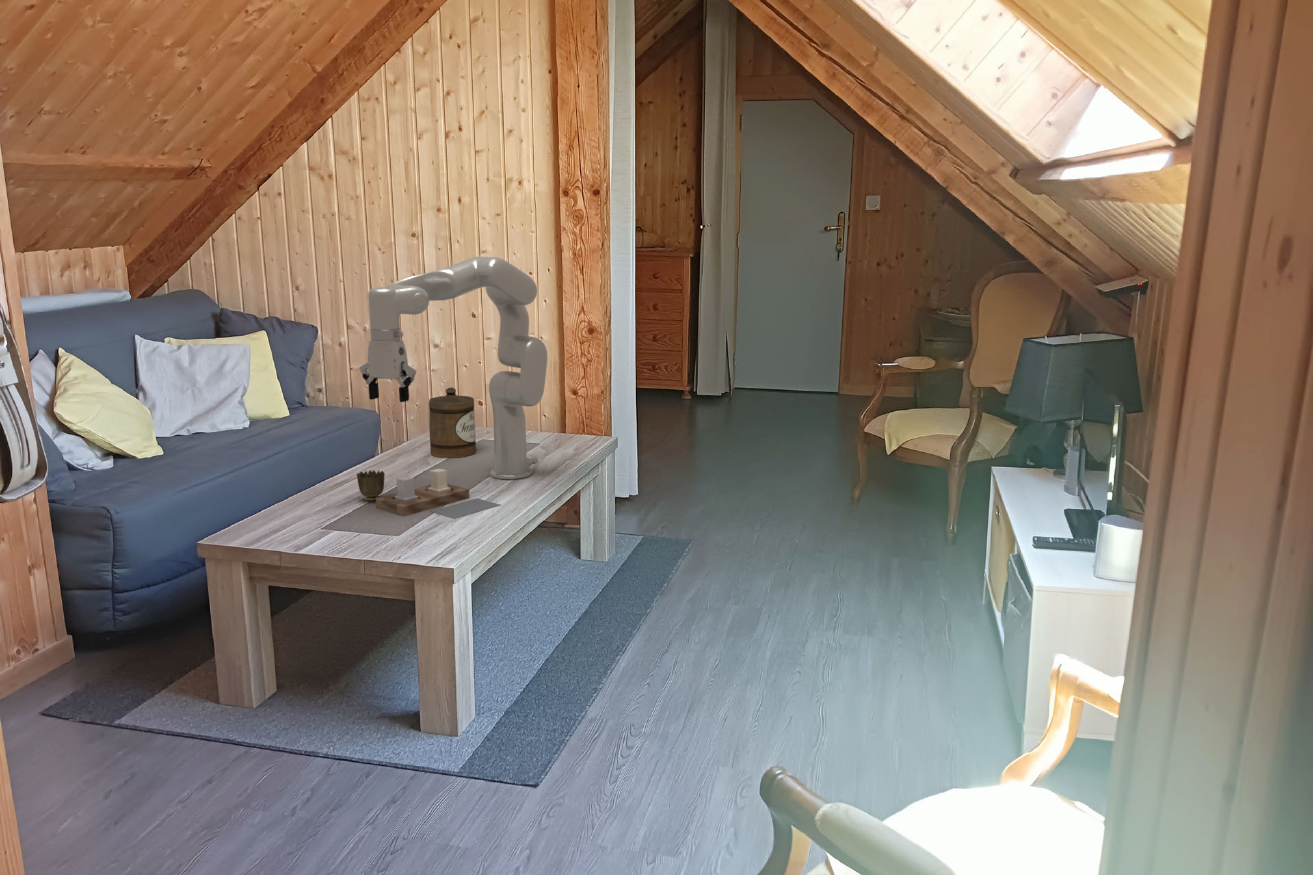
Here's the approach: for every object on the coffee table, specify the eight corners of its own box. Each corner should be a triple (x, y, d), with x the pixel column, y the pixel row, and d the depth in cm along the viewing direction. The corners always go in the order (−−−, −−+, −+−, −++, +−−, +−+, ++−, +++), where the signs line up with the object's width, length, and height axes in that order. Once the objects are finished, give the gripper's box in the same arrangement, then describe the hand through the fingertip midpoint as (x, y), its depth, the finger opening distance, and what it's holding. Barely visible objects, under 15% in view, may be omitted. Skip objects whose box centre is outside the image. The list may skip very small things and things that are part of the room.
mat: (476, 500, 275) (476, 498, 275) (501, 506, 269) (501, 504, 268) (430, 513, 263) (430, 511, 263) (454, 520, 257) (454, 518, 256)
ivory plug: (440, 495, 278) (438, 467, 276) (451, 498, 275) (449, 470, 273) (428, 498, 275) (426, 470, 273) (439, 501, 272) (437, 473, 270)
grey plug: (407, 503, 269) (405, 475, 268) (418, 507, 266) (416, 478, 265) (395, 507, 266) (393, 478, 265) (406, 510, 263) (404, 481, 262)
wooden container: (471, 458, 322) (468, 391, 317) (425, 458, 323) (422, 391, 318) (480, 447, 337) (477, 383, 332) (436, 447, 337) (433, 383, 332)
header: (441, 492, 283) (441, 482, 282) (469, 499, 275) (468, 489, 275) (376, 509, 266) (375, 498, 266) (403, 517, 259) (403, 506, 258)
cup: (385, 504, 271) (383, 475, 269) (357, 505, 270) (355, 477, 268) (387, 496, 278) (385, 469, 276) (359, 498, 277) (357, 470, 275)
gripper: (421, 335, 259) (424, 400, 263) (367, 332, 266) (371, 395, 269) (404, 338, 252) (407, 404, 256) (349, 335, 259) (353, 400, 263)
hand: (389, 400), depth 263 cm, fingers open, 9 cm apart
